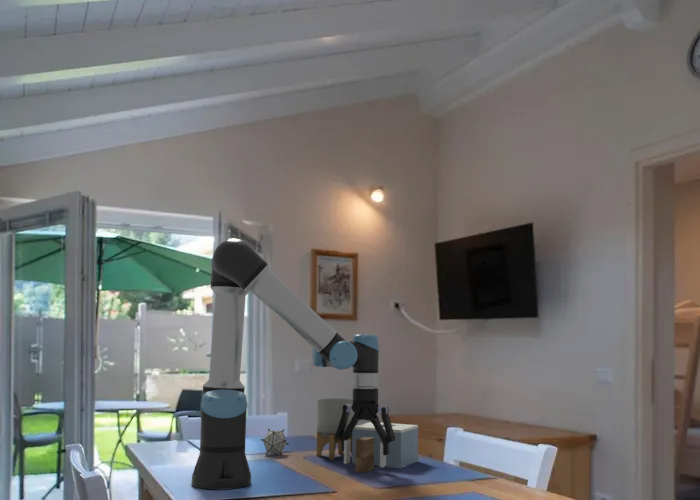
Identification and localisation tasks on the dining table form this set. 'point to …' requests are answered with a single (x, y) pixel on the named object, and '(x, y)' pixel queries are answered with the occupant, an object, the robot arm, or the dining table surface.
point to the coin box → (390, 444)
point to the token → (364, 454)
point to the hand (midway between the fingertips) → (364, 464)
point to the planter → (331, 424)
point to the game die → (274, 441)
